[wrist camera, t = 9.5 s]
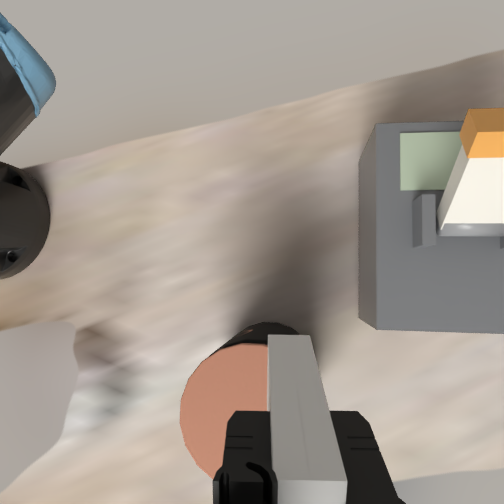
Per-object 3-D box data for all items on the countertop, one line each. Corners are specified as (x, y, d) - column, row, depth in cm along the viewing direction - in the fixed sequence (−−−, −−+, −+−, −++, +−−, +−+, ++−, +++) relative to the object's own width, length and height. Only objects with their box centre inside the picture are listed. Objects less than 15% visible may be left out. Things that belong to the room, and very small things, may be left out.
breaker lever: (433, 242, 33) (477, 132, 25) (428, 220, 35) (468, 108, 26) (507, 242, 33) (578, 129, 24) (498, 220, 34) (563, 105, 26)
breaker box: (358, 317, 47) (383, 333, 32) (358, 162, 48) (382, 109, 33) (489, 321, 45) (579, 340, 30) (485, 160, 46) (570, 103, 32)
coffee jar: (252, 304, 49) (222, 316, 31) (333, 350, 47) (350, 391, 29) (208, 383, 49) (153, 442, 31) (288, 432, 47) (278, 523, 29)
